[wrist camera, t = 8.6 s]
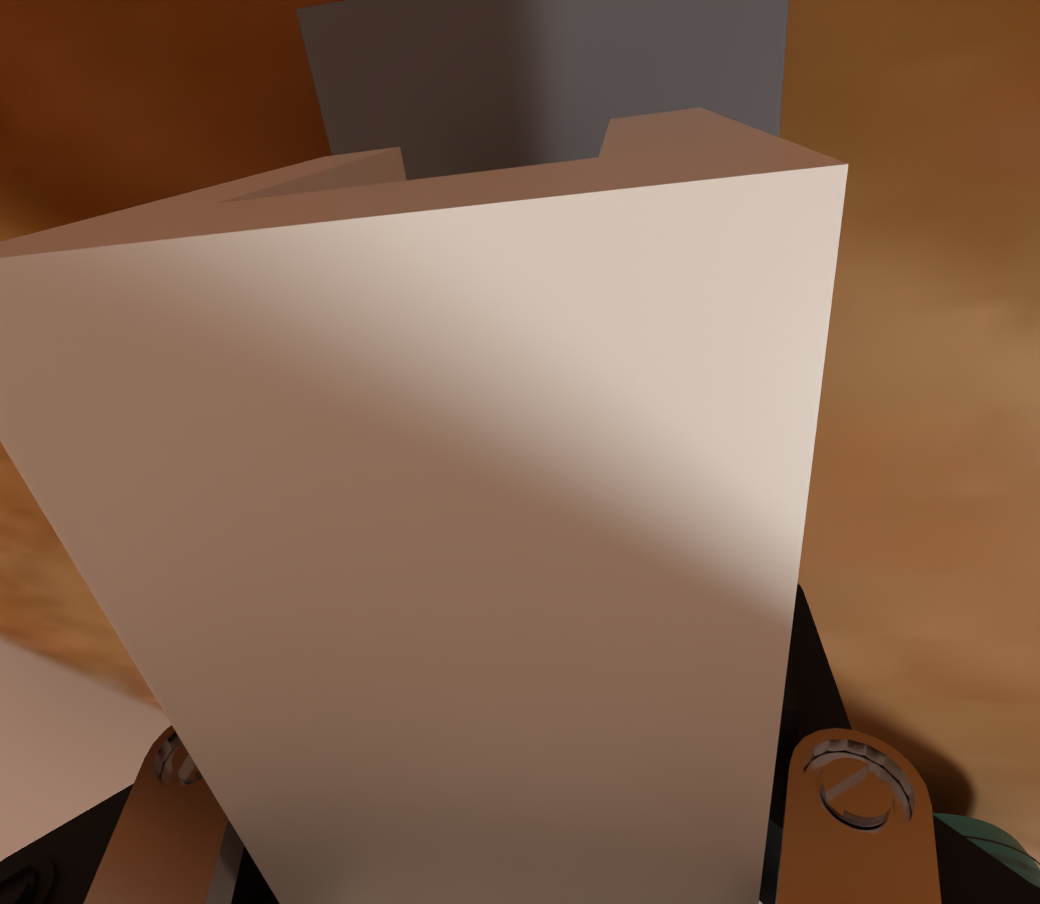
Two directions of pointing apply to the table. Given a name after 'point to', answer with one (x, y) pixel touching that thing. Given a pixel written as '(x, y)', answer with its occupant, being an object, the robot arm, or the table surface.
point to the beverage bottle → (995, 844)
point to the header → (533, 73)
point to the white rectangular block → (451, 500)
